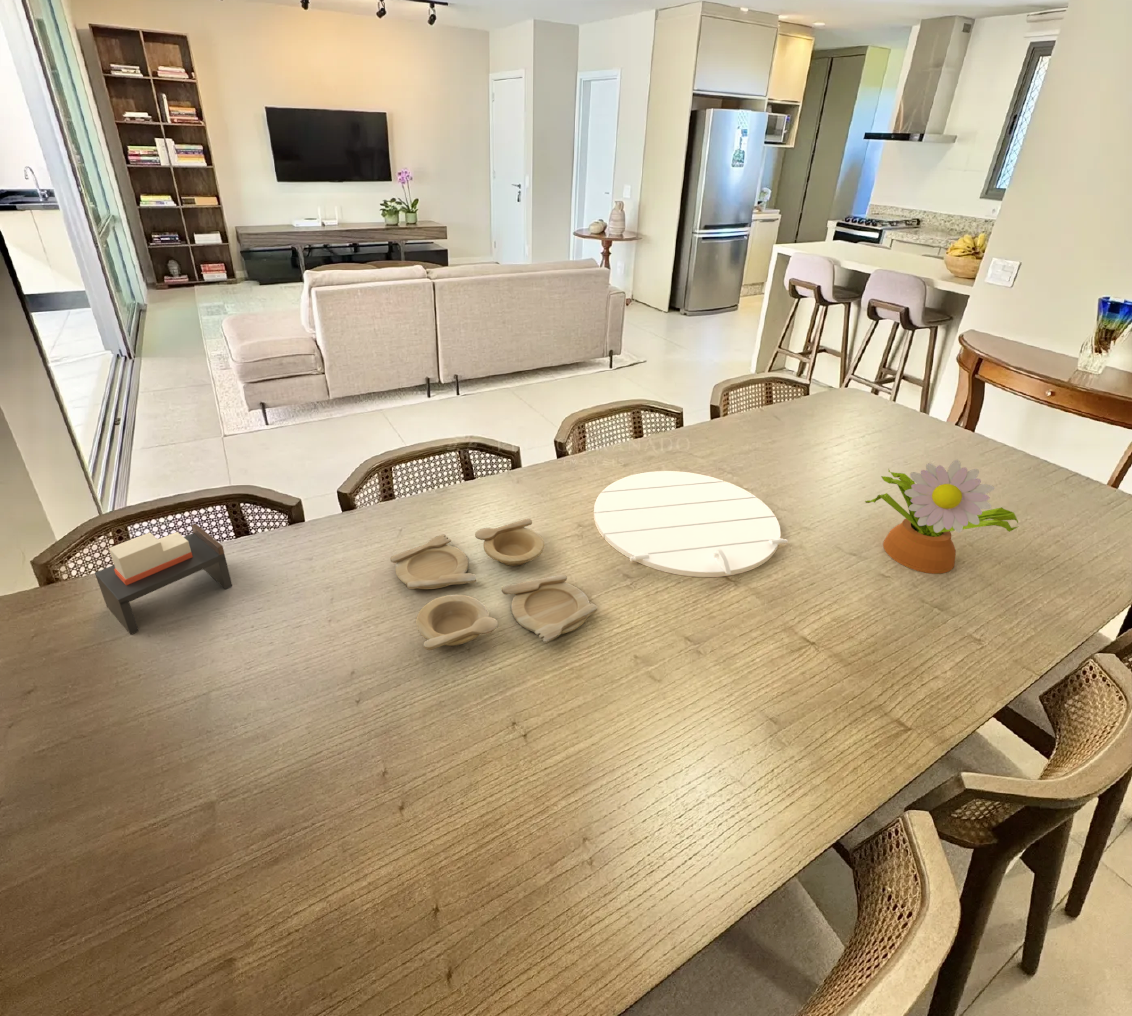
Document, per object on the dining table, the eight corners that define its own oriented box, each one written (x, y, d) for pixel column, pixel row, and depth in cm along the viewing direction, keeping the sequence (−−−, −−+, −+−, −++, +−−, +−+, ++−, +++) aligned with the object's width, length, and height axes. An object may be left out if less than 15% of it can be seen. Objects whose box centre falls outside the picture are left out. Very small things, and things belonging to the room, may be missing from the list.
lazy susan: (820, 567, 122) (824, 552, 121) (628, 591, 114) (629, 576, 112) (727, 469, 157) (729, 457, 156) (574, 482, 148) (575, 469, 147)
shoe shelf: (130, 635, 100) (115, 591, 96) (106, 606, 105) (91, 564, 101) (232, 586, 111) (222, 545, 107) (206, 562, 116) (195, 523, 113)
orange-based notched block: (126, 585, 99) (117, 559, 97) (115, 573, 102) (106, 548, 100) (192, 557, 106) (186, 532, 104) (181, 546, 109) (174, 522, 107)
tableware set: (608, 631, 104) (610, 612, 103) (433, 687, 93) (431, 666, 91) (527, 522, 132) (527, 505, 131) (385, 554, 121) (383, 536, 119)
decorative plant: (849, 565, 123) (883, 450, 112) (855, 507, 143) (884, 405, 132) (1009, 608, 114) (1063, 487, 103) (992, 539, 134) (1036, 432, 122)
